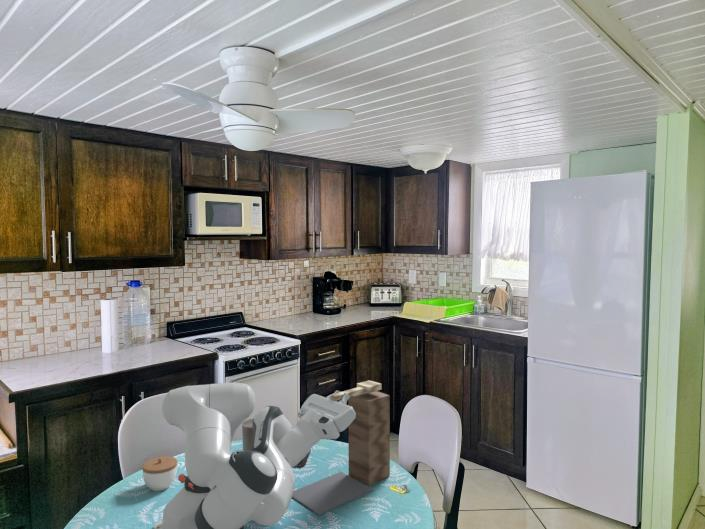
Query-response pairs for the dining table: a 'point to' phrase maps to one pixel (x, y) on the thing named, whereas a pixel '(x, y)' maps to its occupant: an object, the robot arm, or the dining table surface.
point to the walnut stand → (370, 437)
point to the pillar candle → (247, 434)
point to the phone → (303, 461)
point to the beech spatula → (359, 389)
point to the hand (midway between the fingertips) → (343, 393)
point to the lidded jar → (159, 472)
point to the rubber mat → (330, 492)
